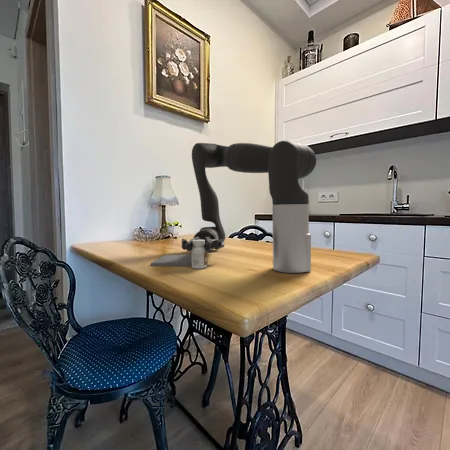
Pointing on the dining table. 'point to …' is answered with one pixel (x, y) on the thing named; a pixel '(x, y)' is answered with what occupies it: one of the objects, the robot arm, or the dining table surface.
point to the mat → (173, 260)
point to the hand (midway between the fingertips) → (197, 247)
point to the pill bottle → (199, 254)
